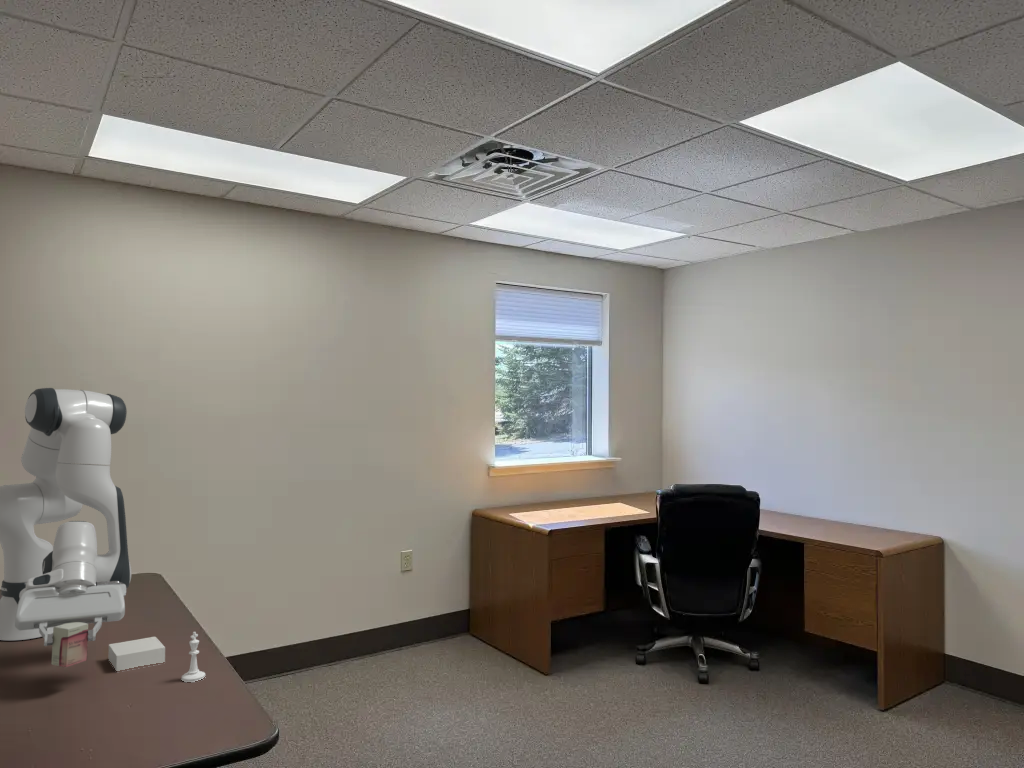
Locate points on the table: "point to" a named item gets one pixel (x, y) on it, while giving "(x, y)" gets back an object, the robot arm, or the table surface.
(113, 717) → the table surface
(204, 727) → the table surface
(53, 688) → the table surface
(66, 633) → the small box
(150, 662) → the off-white block
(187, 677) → the chess piece
